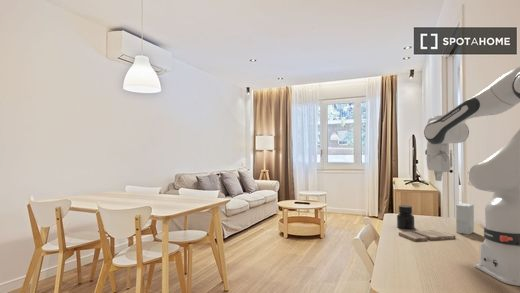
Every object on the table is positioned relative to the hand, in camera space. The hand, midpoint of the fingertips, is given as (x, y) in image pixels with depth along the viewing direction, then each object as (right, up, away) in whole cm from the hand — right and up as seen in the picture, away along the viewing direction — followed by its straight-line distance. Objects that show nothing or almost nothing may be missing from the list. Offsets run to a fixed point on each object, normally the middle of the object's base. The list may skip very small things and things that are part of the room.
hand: (438, 180), depth 142 cm
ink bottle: (-1, -30, +30) cm, 43 cm away
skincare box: (+25, -30, +19) cm, 43 cm away
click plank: (-2, -29, +10) cm, 31 cm away
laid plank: (-7, -29, +9) cm, 32 cm away
